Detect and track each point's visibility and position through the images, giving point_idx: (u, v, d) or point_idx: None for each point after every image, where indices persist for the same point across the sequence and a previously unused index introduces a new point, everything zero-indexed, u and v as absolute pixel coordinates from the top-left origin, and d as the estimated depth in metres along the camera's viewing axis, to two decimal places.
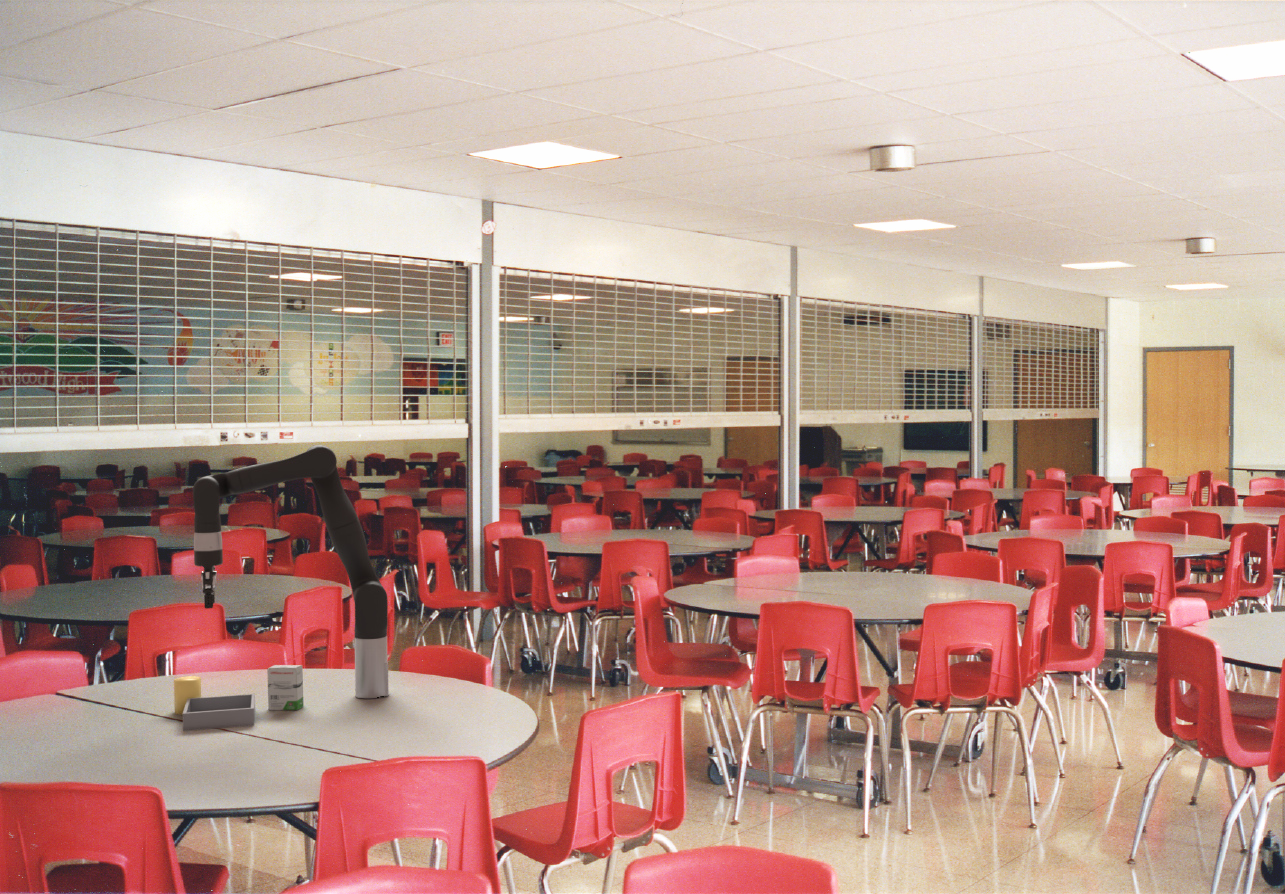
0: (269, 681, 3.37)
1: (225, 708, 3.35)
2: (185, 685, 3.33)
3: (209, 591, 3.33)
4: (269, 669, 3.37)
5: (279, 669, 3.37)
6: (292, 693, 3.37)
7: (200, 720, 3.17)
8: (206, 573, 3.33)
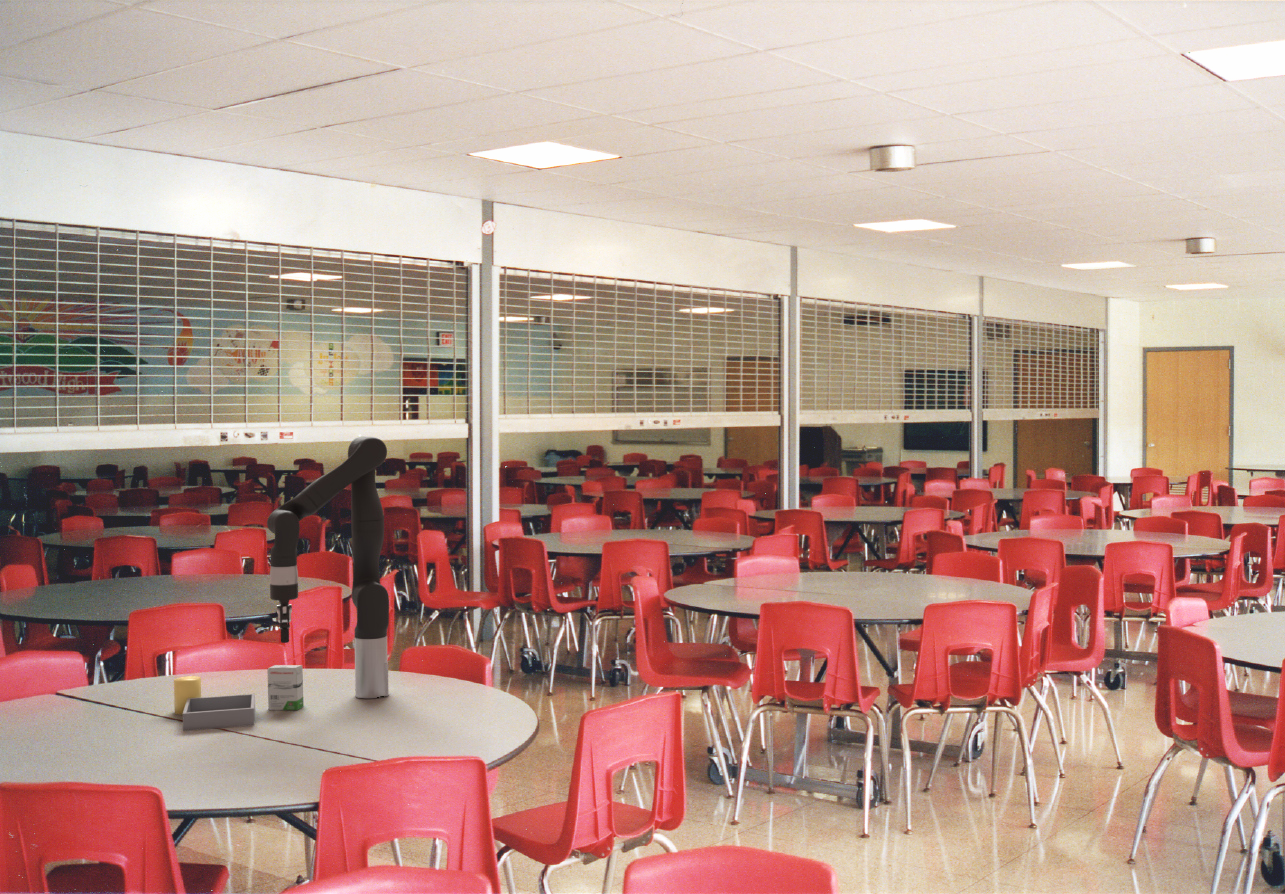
0: (269, 681, 3.37)
1: (225, 708, 3.35)
2: (185, 685, 3.33)
3: (286, 626, 3.32)
4: (269, 669, 3.37)
5: (279, 669, 3.37)
6: (292, 693, 3.37)
7: (200, 720, 3.17)
8: (283, 607, 3.32)
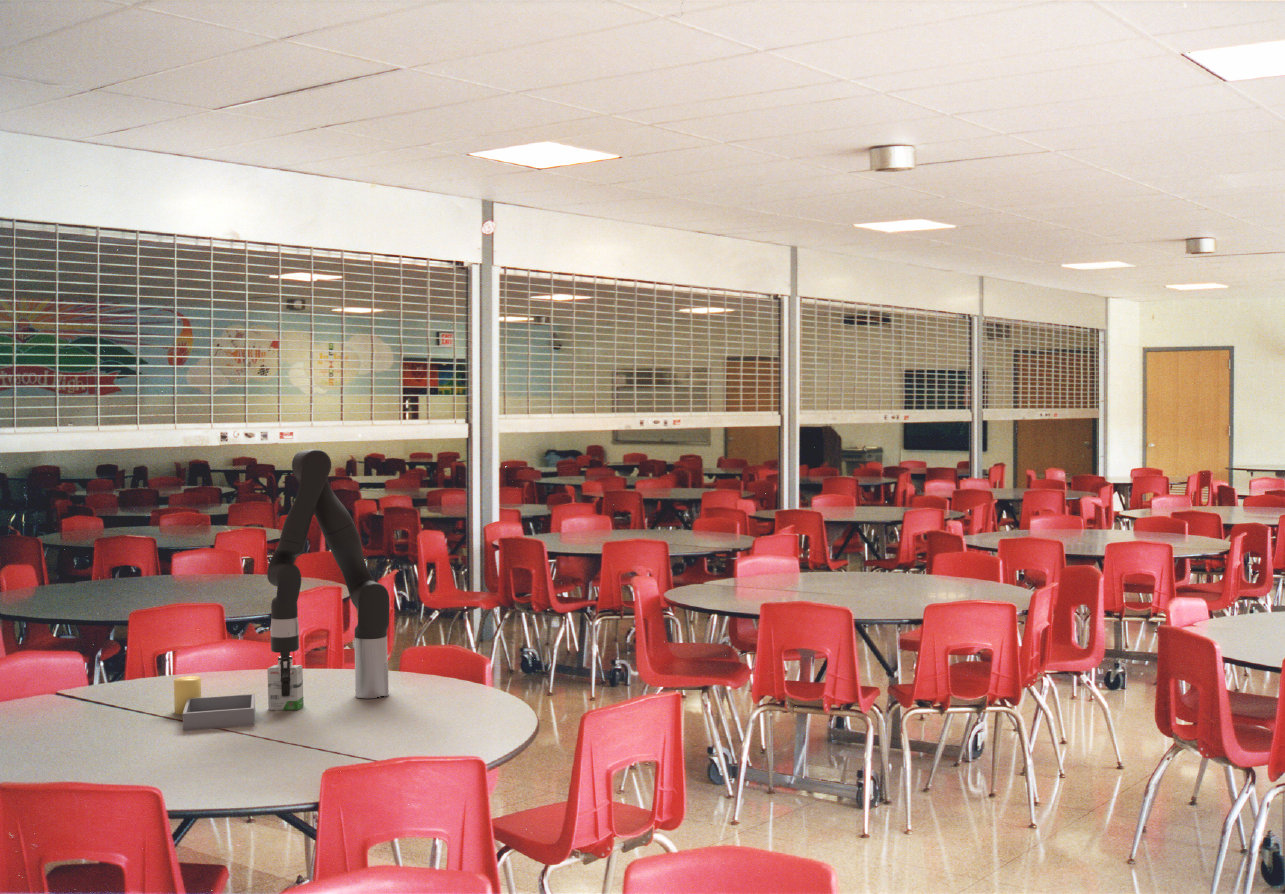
0: (269, 681, 3.37)
1: (225, 708, 3.35)
2: (185, 685, 3.33)
3: (287, 680, 3.33)
4: (269, 669, 3.37)
5: None
6: (292, 693, 3.37)
7: (200, 720, 3.17)
8: (284, 663, 3.32)
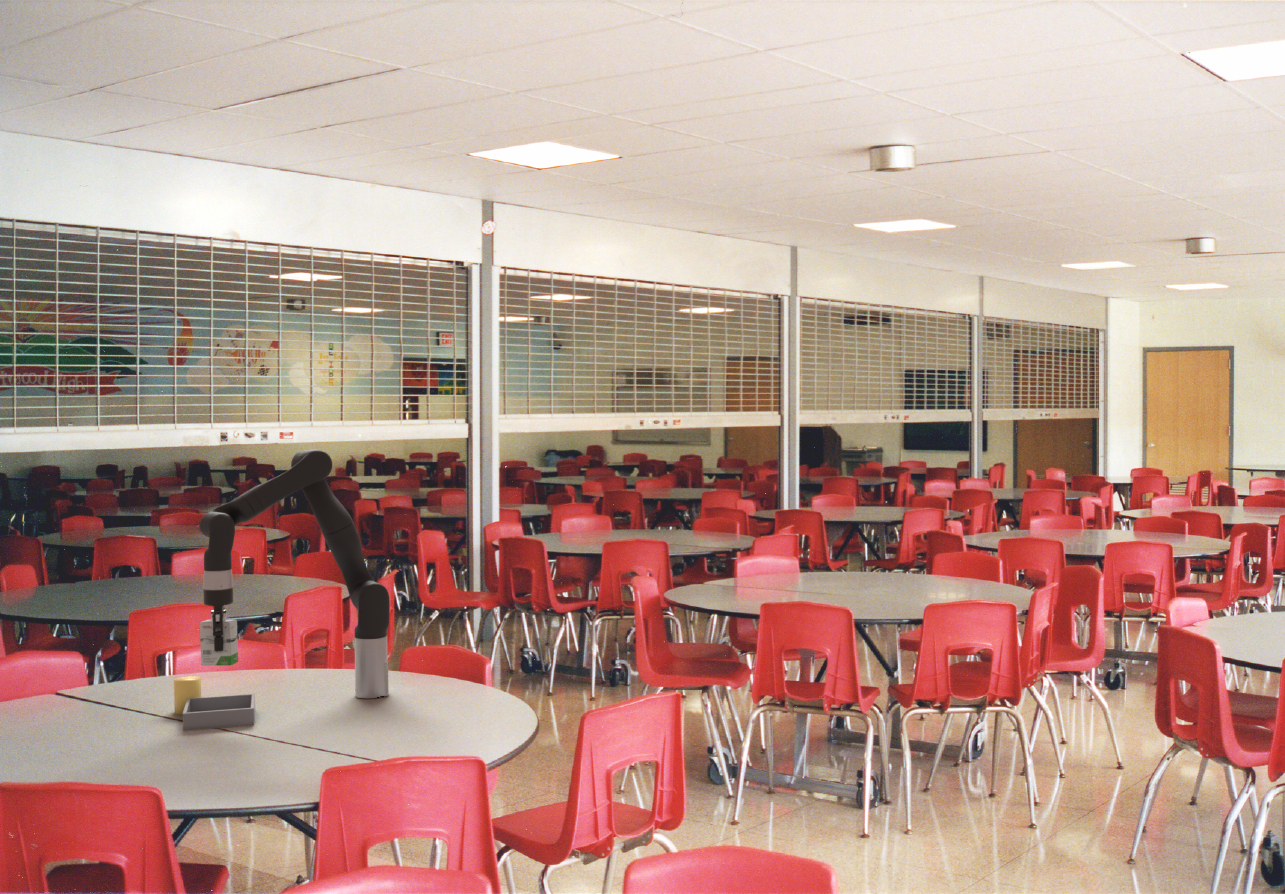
0: (202, 635, 3.24)
1: (225, 708, 3.35)
2: (185, 685, 3.33)
3: (219, 634, 3.20)
4: (201, 623, 3.24)
5: None
6: (225, 648, 3.24)
7: (200, 720, 3.17)
8: (216, 616, 3.19)
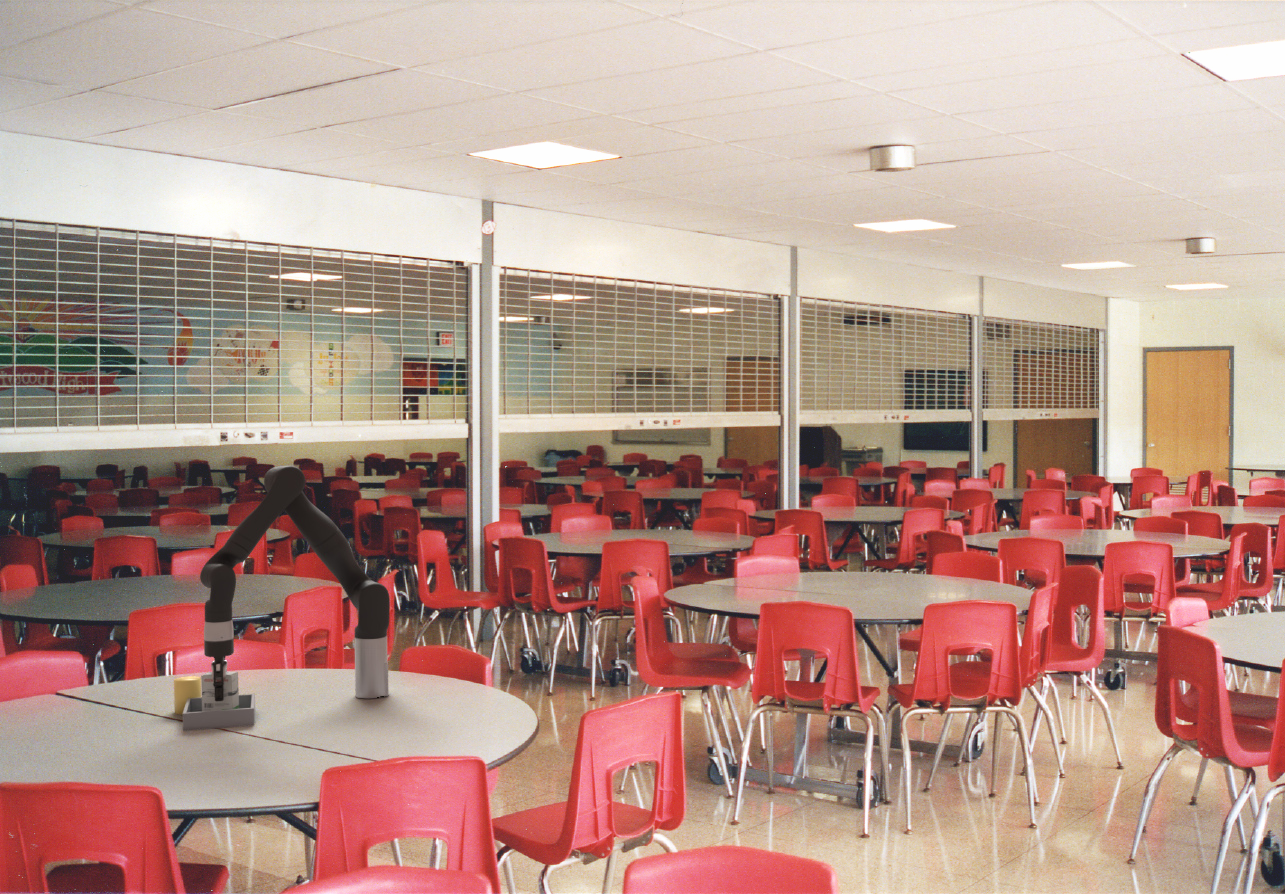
0: (203, 688, 3.25)
1: None
2: (185, 685, 3.33)
3: (220, 684, 3.20)
4: (202, 676, 3.25)
5: None
6: (227, 701, 3.24)
7: (200, 720, 3.17)
8: (217, 665, 3.20)
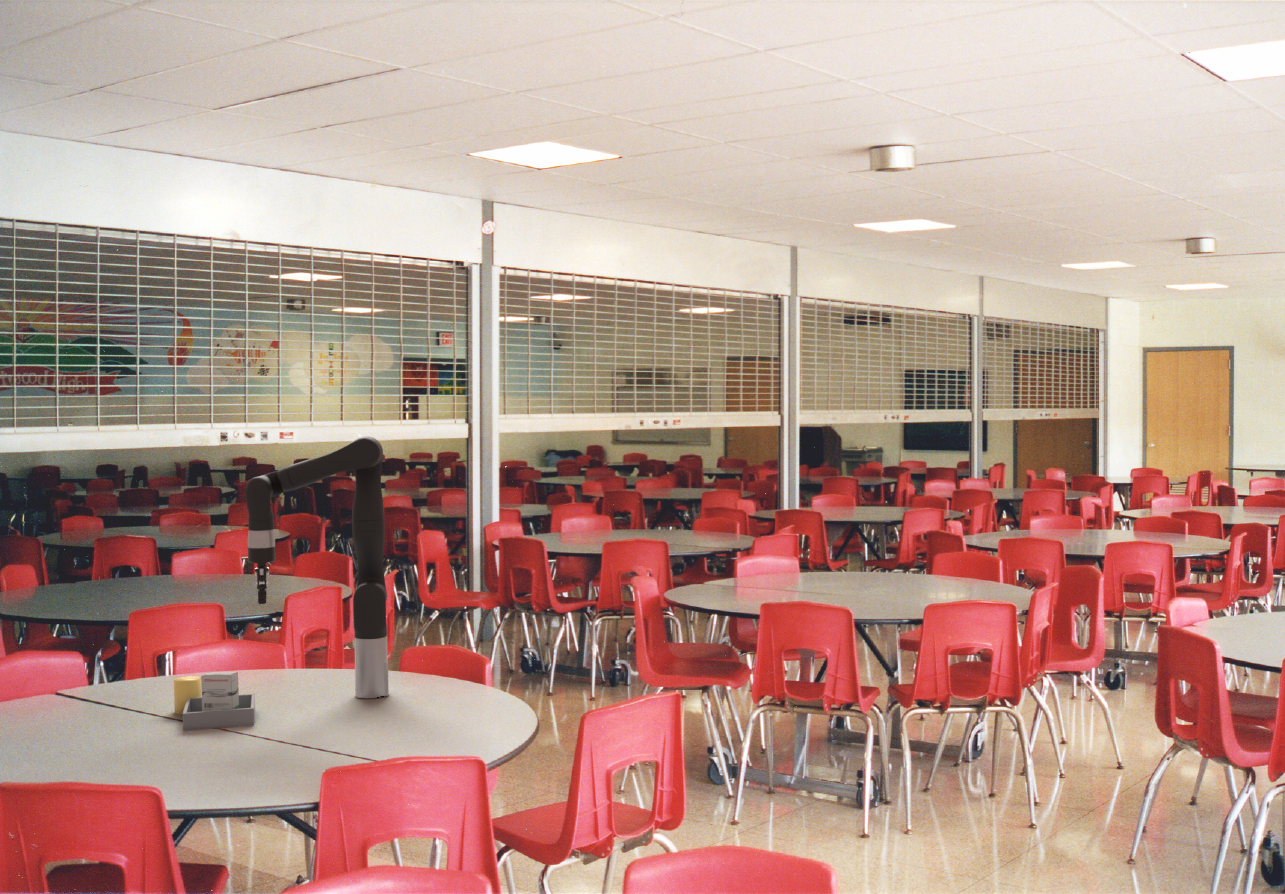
0: (203, 688, 3.25)
1: None
2: (185, 685, 3.33)
3: (263, 587, 3.43)
4: (202, 676, 3.25)
5: (213, 676, 3.24)
6: (227, 701, 3.24)
7: (200, 720, 3.17)
8: (260, 569, 3.43)
